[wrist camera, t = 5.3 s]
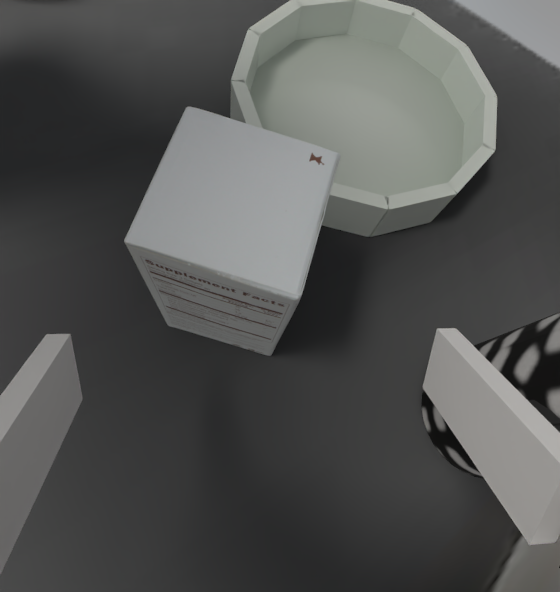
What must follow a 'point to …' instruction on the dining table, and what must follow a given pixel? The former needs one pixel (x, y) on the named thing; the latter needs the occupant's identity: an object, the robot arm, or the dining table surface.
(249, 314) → the supplement box
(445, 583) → the dining table surface
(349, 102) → the bowl
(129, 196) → the dining table surface
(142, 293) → the dining table surface
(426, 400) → the white-spotted black cylinder
